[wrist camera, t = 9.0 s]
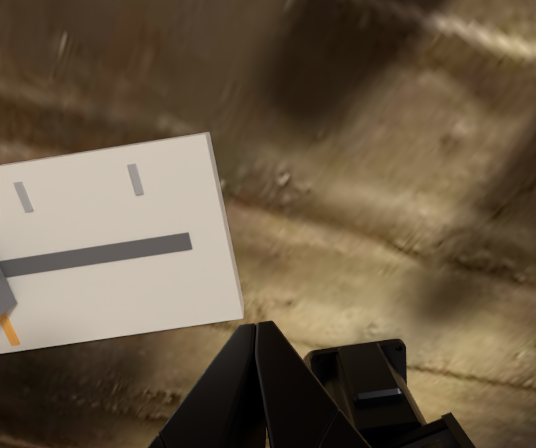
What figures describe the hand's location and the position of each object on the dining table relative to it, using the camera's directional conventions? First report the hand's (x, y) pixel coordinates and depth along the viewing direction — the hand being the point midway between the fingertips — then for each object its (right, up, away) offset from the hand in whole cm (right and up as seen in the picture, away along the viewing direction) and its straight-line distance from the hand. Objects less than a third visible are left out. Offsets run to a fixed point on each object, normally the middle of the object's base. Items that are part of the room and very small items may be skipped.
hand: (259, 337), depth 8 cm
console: (-12, +1, +12) cm, 17 cm away
